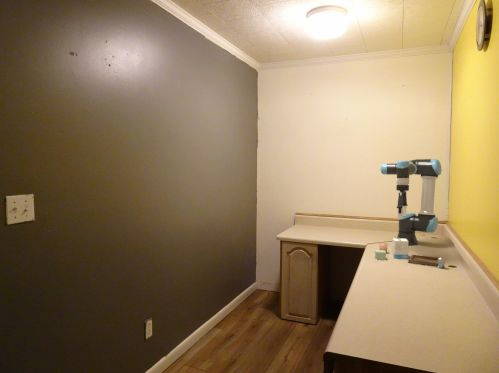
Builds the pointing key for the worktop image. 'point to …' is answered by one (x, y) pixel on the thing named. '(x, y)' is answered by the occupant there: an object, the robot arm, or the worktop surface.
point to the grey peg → (441, 262)
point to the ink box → (400, 248)
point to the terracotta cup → (383, 247)
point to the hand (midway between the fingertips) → (402, 217)
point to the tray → (423, 260)
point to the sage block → (380, 254)
